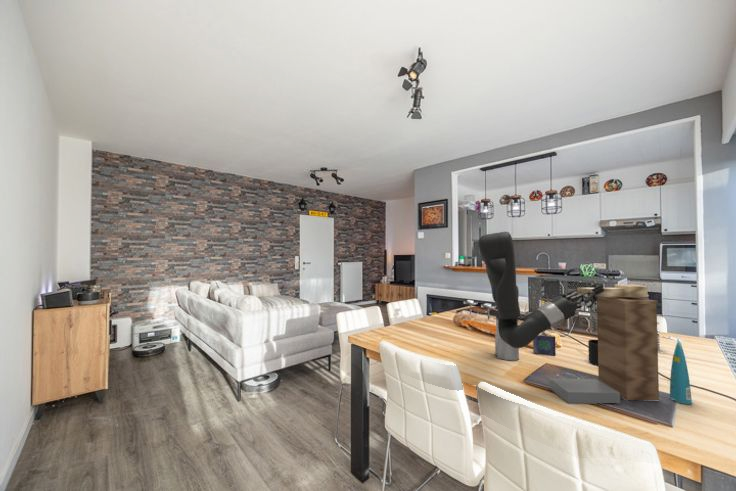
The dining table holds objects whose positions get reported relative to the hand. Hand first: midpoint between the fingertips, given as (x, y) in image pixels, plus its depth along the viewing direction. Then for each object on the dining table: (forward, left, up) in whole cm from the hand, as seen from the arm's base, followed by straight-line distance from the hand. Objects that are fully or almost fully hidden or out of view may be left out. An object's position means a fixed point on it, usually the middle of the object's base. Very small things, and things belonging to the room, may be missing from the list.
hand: (598, 287), depth 101 cm
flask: (-4, +38, -36) cm, 52 cm away
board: (-7, -4, -36) cm, 37 cm away
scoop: (+3, +1, -3) cm, 5 cm away
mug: (+17, +30, -36) cm, 49 cm away
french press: (+48, +54, -36) cm, 80 cm away
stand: (+9, +2, -36) cm, 37 cm away
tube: (+22, -1, -36) cm, 42 cm away
